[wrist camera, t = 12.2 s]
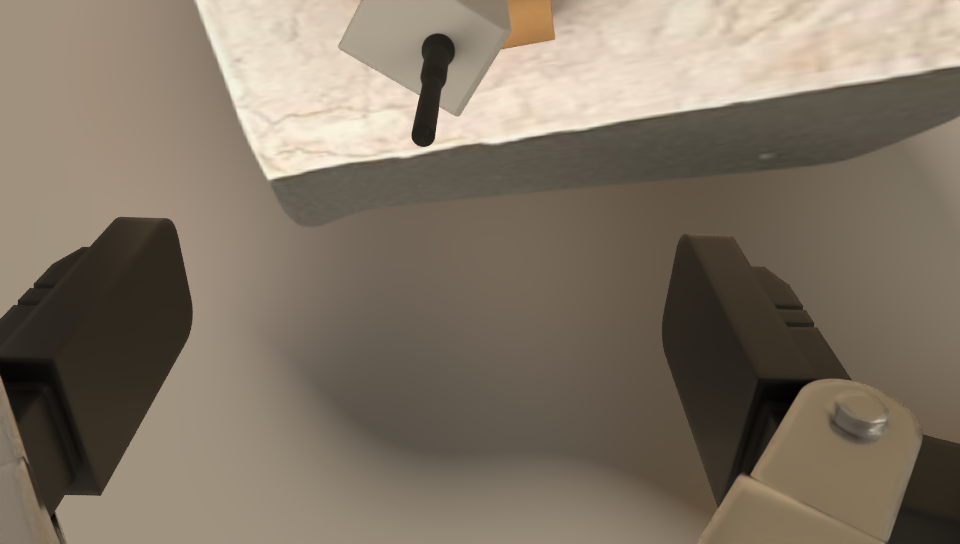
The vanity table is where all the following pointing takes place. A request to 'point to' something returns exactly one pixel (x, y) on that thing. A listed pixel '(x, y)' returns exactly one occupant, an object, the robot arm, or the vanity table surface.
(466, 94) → the vintage mobile phone
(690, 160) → the vanity table surface
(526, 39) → the maple block
